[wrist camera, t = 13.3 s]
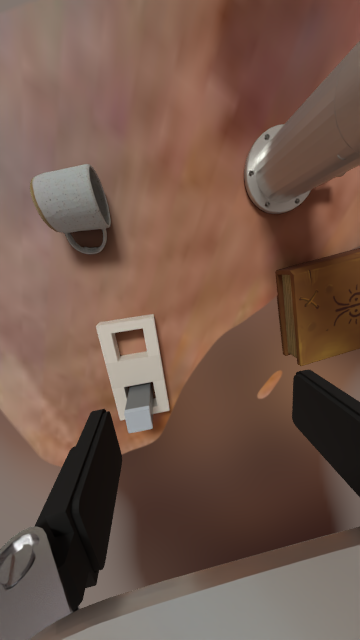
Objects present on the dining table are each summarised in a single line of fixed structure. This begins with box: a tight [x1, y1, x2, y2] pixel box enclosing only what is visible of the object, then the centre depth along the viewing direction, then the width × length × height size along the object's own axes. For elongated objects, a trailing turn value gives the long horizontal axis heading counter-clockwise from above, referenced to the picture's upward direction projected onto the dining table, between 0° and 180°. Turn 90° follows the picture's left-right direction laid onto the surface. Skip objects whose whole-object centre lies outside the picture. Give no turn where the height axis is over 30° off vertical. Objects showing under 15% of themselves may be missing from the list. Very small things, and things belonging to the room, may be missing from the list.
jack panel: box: [96, 314, 170, 420], centre depth 38 cm, size 10×20×2 cm, turn 7°
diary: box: [275, 248, 360, 366], centre depth 39 cm, size 23×19×6 cm
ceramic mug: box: [30, 164, 111, 254], centre depth 28 cm, size 11×8×8 cm
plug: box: [124, 382, 153, 433], centre depth 36 cm, size 4×4×9 cm
